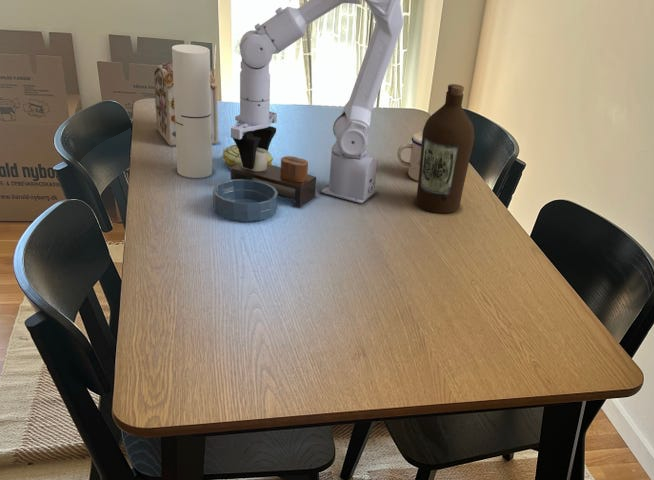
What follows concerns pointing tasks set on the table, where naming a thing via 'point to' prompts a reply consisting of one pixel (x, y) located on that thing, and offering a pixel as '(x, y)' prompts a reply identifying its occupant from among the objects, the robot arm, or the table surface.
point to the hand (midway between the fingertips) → (254, 164)
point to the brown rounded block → (294, 169)
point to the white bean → (259, 160)
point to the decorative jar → (167, 108)
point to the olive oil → (445, 155)
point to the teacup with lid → (413, 155)
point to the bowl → (245, 200)
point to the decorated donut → (237, 156)
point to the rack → (279, 183)
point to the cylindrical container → (192, 110)
